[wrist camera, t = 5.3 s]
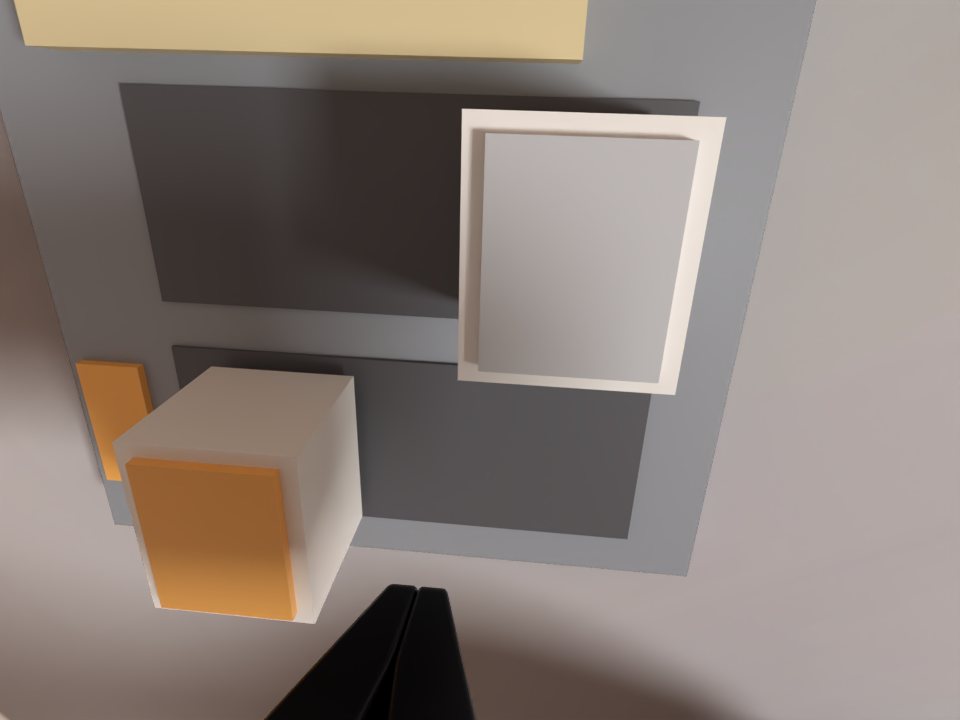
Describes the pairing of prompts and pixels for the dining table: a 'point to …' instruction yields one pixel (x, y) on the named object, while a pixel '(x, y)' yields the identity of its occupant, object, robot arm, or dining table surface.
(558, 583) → the dining table surface
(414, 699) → the robot arm
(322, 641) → the dining table surface
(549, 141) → the toggle plain
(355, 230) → the breaker panel
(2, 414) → the dining table surface
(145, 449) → the white orange-topped block
